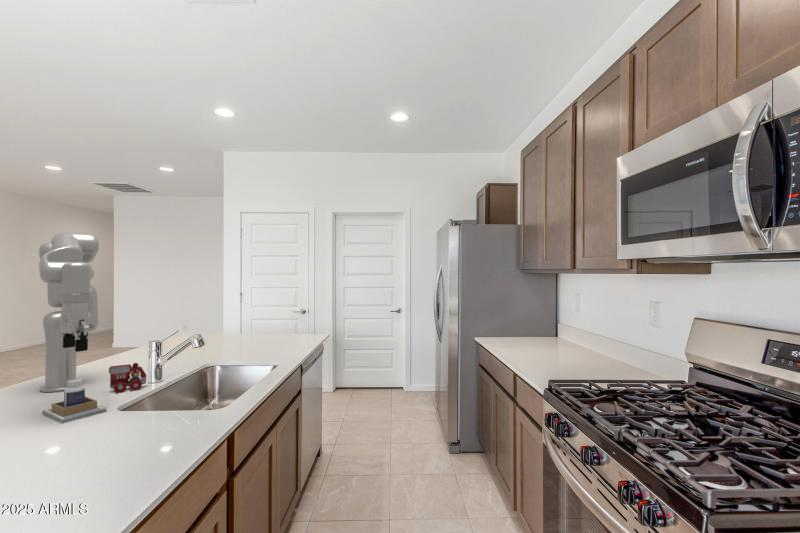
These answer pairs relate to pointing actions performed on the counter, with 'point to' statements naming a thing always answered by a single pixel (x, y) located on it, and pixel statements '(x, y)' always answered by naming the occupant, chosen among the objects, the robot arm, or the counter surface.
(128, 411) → the counter surface
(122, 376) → the toy fire truck
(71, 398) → the pill bottle
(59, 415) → the bay
